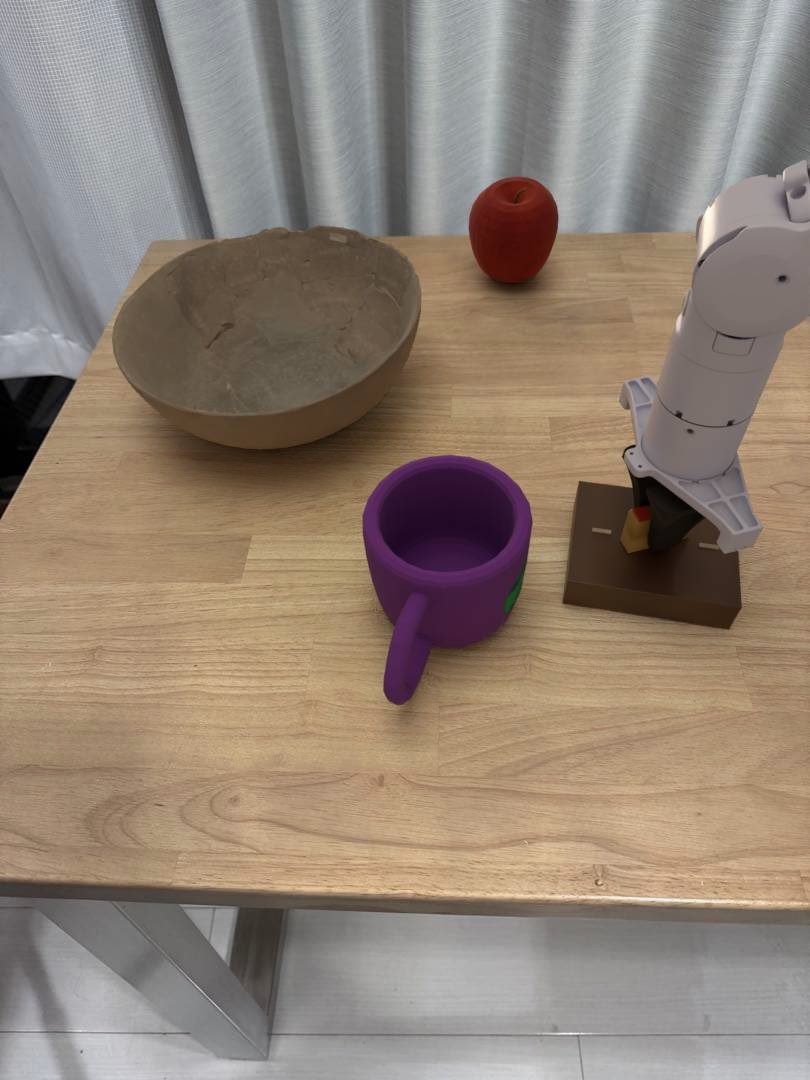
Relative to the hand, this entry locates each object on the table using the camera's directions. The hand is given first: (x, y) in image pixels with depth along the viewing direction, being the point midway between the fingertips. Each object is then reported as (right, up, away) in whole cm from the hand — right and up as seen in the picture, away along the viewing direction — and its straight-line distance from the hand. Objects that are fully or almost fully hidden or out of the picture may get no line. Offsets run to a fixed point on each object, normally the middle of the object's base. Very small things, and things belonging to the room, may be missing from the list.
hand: (655, 535), depth 54 cm
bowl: (-30, +14, +18) cm, 38 cm away
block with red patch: (0, 0, 0) cm, 0 cm away
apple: (-7, +30, +28) cm, 41 cm away
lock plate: (0, -2, +3) cm, 3 cm away
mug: (-16, -7, 0) cm, 18 cm away
